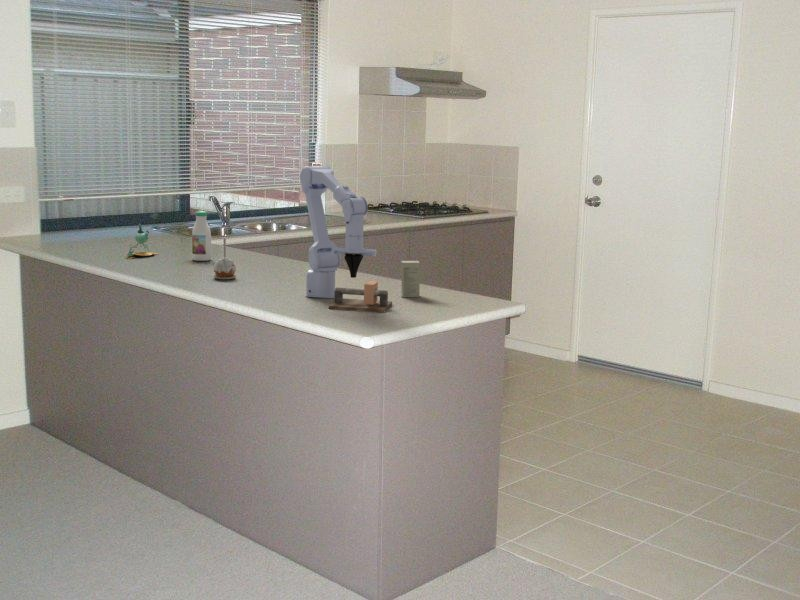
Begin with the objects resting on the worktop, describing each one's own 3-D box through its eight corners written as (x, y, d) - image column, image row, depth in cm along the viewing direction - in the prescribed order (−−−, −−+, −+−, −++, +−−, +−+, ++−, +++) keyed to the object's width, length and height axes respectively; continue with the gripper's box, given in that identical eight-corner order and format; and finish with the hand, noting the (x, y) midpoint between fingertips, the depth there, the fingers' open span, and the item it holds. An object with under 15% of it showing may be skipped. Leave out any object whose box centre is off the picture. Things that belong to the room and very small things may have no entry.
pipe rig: (328, 308, 299) (328, 290, 298) (339, 301, 311) (339, 283, 310) (383, 312, 296) (384, 294, 294) (392, 304, 308) (392, 287, 307)
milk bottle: (202, 257, 394) (201, 210, 390) (215, 259, 390) (214, 211, 386) (188, 259, 388) (187, 211, 384) (201, 262, 384) (200, 213, 380)
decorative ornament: (239, 279, 347) (239, 239, 344) (220, 281, 342) (220, 240, 339) (229, 276, 353) (228, 236, 350) (210, 277, 348) (210, 237, 345)
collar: (363, 304, 300) (364, 284, 298) (368, 300, 306) (368, 281, 305) (373, 304, 299) (373, 284, 298) (377, 300, 305) (377, 281, 304)
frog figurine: (114, 257, 390) (116, 222, 388) (149, 257, 404) (151, 223, 403) (129, 259, 384) (131, 223, 383) (163, 260, 399) (165, 225, 397)
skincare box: (418, 295, 325) (420, 260, 323) (419, 297, 321) (420, 262, 319) (400, 295, 325) (401, 260, 323) (400, 297, 321) (401, 262, 318)
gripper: (329, 235, 298) (328, 277, 301) (373, 238, 295) (372, 280, 298) (335, 233, 305) (334, 274, 308) (378, 235, 302) (377, 276, 305)
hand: (353, 277), depth 303 cm, fingers closed
